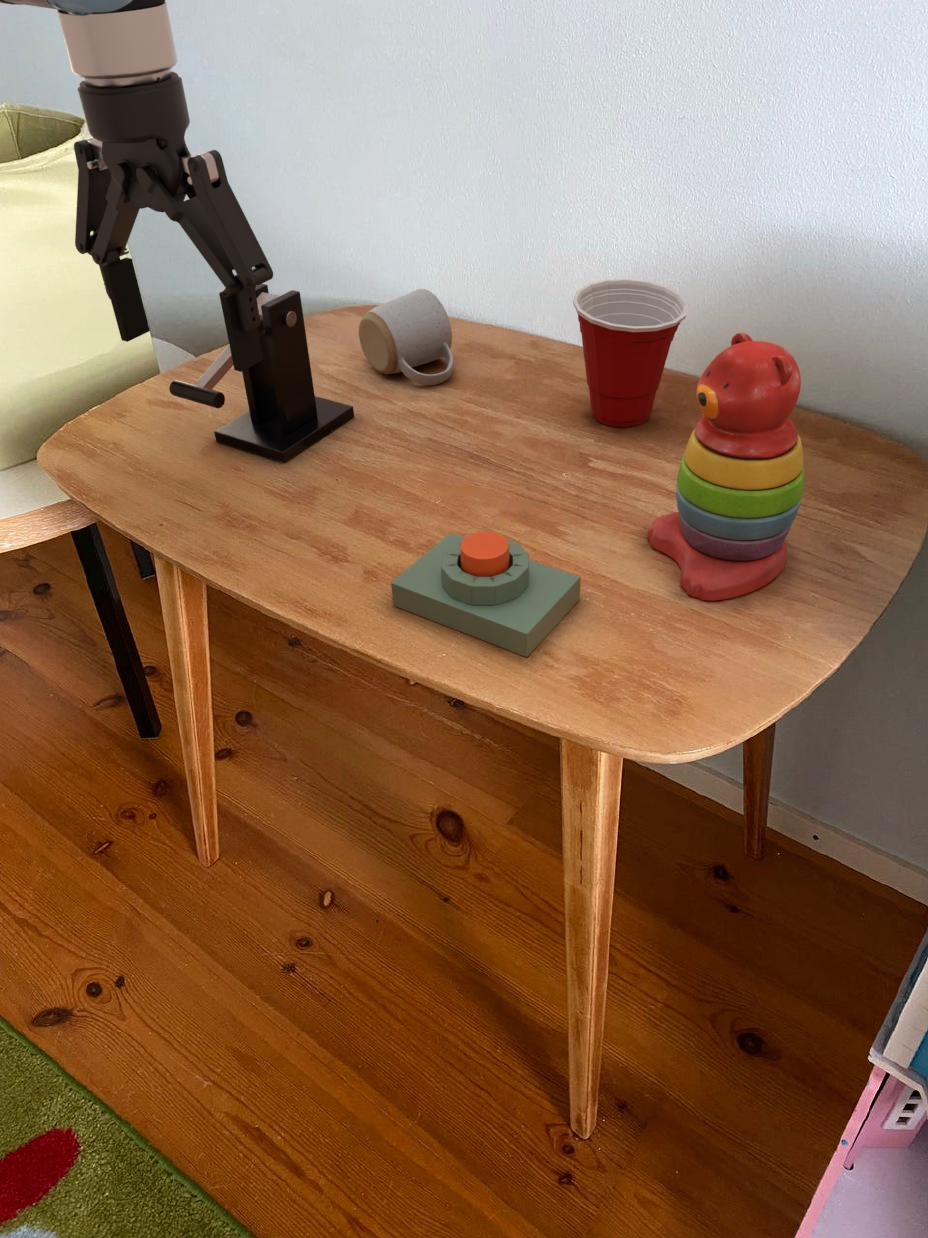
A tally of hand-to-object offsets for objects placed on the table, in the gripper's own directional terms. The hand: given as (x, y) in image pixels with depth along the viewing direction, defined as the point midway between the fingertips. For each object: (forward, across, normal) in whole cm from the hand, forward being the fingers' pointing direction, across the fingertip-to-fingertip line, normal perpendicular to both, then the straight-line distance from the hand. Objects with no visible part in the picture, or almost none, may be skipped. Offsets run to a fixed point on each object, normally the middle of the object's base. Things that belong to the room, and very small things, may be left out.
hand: (190, 350), depth 85 cm
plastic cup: (+13, -28, -29) cm, 42 cm away
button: (+9, -33, +5) cm, 34 cm away
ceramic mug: (+13, -3, -28) cm, 31 cm away
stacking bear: (+12, -46, -10) cm, 49 cm away
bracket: (+12, 0, -10) cm, 16 cm away
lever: (+3, 0, -6) cm, 6 cm away
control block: (+12, -33, +5) cm, 35 cm away
